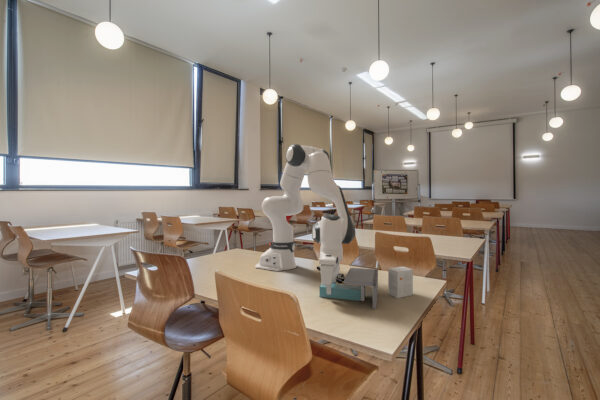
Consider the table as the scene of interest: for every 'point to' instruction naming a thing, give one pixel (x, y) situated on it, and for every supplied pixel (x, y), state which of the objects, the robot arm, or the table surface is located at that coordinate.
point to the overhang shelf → (364, 281)
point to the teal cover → (342, 292)
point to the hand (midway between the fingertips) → (331, 290)
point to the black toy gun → (339, 277)
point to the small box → (400, 282)
